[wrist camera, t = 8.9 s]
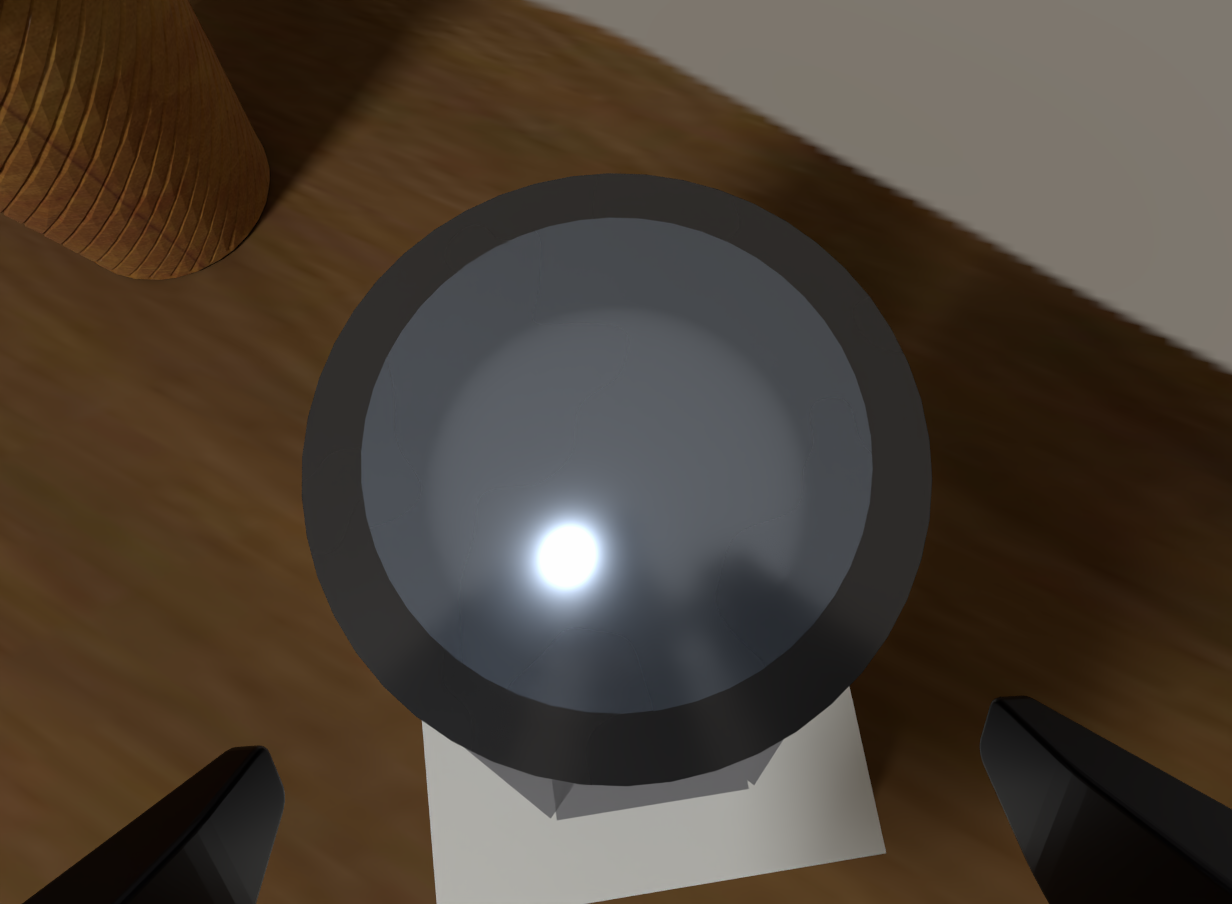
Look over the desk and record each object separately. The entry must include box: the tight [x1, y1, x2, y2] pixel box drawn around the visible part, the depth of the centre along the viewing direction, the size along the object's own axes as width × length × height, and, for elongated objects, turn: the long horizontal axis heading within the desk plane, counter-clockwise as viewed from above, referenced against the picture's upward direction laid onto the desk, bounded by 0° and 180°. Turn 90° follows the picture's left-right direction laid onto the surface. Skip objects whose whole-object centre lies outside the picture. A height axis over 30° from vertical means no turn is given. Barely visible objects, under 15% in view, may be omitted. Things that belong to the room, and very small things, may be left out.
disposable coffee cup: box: [0, 0, 270, 280], centre depth 17 cm, size 10×10×12 cm
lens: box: [302, 173, 932, 786], centre depth 12 cm, size 5×5×13 cm
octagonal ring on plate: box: [422, 687, 886, 904], centre depth 18 cm, size 14×10×4 cm
